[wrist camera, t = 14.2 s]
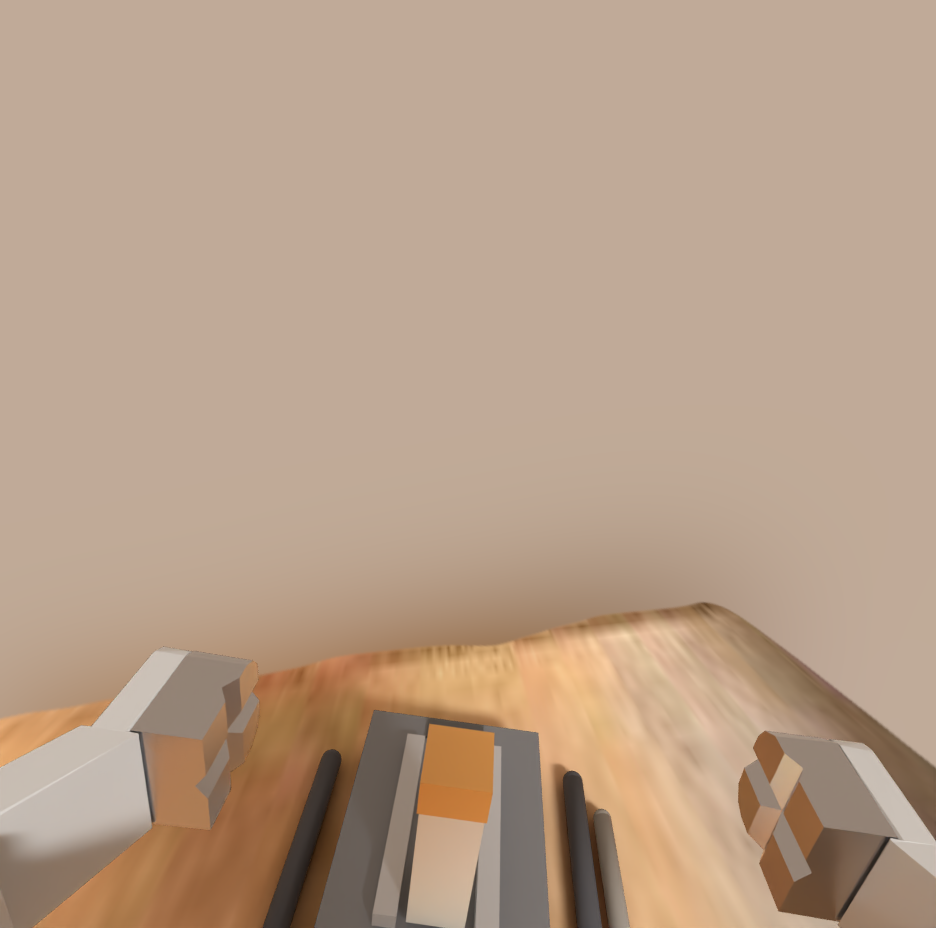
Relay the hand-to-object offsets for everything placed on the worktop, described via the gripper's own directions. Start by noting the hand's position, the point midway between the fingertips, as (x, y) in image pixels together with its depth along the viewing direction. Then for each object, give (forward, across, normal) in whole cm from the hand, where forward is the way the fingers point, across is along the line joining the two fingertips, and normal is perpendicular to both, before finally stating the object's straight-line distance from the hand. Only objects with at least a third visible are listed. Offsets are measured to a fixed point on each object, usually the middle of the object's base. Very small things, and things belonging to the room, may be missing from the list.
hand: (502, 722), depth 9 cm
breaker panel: (+16, 0, +30) cm, 34 cm away
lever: (+12, 0, +26) cm, 28 cm away
